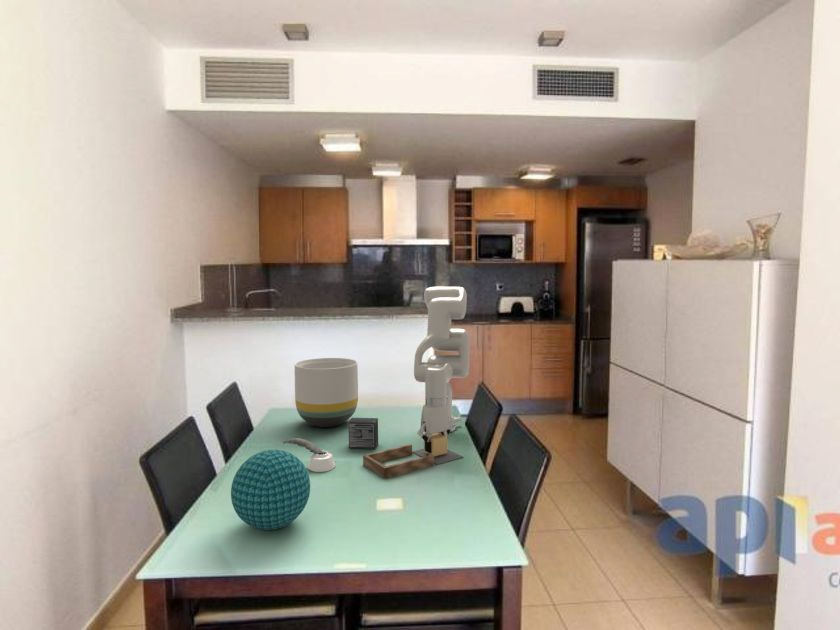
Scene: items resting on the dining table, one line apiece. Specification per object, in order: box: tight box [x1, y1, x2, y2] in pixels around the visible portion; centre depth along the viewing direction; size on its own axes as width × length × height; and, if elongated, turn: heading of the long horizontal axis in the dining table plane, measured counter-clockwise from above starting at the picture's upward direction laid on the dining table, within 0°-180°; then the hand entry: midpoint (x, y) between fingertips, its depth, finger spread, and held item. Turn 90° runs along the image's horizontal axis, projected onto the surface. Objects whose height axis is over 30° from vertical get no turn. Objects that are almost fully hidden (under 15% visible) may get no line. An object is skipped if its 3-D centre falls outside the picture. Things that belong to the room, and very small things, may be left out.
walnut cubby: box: [362, 443, 435, 480], centre depth 180 cm, size 20×14×4 cm
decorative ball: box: [230, 449, 311, 531], centre depth 137 cm, size 20×20×20 cm
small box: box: [348, 417, 379, 450], centre depth 199 cm, size 11×6×10 cm, turn 84°
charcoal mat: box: [412, 448, 464, 466], centre depth 190 cm, size 12×15×1 cm
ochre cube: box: [423, 433, 448, 456], centre depth 189 cm, size 6×6×6 cm
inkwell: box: [282, 437, 336, 473], centre depth 178 cm, size 9×18×10 cm, turn 90°
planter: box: [294, 357, 359, 428], centre depth 227 cm, size 27×27×27 cm
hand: (435, 449), depth 189 cm, fingers closed on ochre cube, 6 cm apart
